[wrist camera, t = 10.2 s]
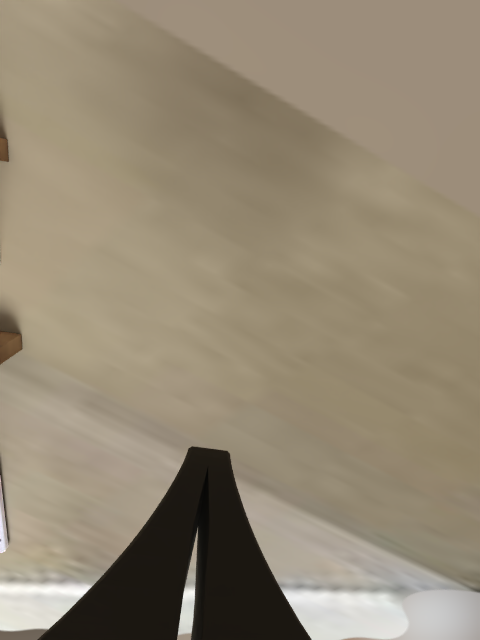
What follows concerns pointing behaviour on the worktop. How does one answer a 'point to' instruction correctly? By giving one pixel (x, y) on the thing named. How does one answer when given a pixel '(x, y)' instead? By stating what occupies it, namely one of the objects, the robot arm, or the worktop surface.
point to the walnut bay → (3, 343)
